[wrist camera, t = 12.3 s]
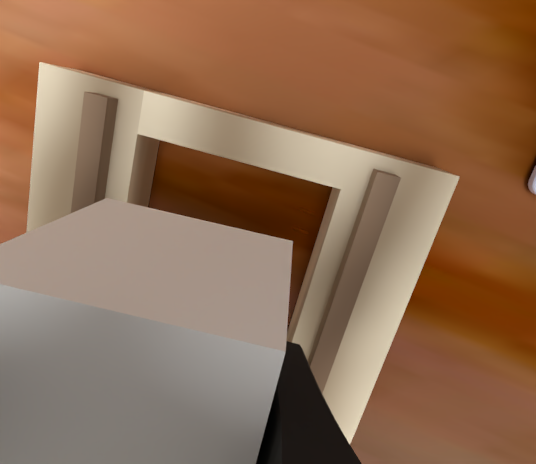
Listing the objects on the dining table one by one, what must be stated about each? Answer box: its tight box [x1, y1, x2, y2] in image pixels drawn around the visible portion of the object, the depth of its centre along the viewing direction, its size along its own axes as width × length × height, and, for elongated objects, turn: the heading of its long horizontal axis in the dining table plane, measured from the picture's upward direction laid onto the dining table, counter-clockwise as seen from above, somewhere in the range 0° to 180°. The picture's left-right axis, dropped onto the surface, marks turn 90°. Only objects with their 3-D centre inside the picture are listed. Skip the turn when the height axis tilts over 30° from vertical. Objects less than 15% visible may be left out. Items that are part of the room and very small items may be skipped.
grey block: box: [0, 198, 293, 464], centre depth 9 cm, size 5×5×5 cm
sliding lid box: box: [26, 62, 459, 444], centre depth 17 cm, size 15×18×3 cm
